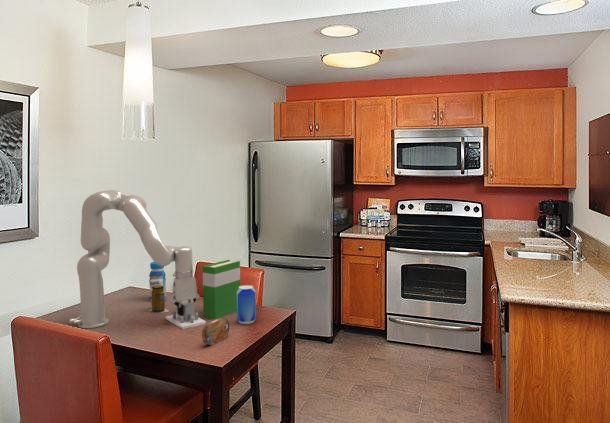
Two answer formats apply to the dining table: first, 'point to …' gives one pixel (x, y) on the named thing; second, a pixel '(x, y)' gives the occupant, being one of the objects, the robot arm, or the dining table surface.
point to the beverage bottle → (157, 277)
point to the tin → (215, 331)
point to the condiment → (158, 300)
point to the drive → (187, 309)
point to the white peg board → (185, 320)
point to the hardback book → (220, 288)
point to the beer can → (246, 304)
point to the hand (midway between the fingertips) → (185, 313)
